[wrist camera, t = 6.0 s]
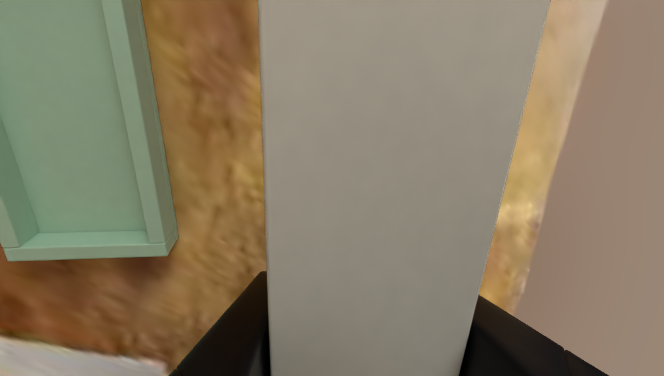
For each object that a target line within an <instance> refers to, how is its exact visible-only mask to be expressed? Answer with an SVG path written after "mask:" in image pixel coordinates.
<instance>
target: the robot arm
mask: <svg viewBox="0 0 664 376" xmlns="http://www.w3.org/2000/svg"><path fill="white" fill-rule="evenodd" d="M169 376H270V350H269V320H268V291H267V271H262V272H260V273H259V274H258V275H257V276H256V278H255V279H254V280H253V281H252V282H251V283H250V284H249V285H248V287H247V288H246V289H245V290H244V291H243V292H242V293H241V295H240V296H239V297H238V298H237V299H236V300H235V301H234V303H233V304H232V305H231V306H230V307H229V308H228V309H227V310H226V312H225V313H224V314H223V315H222V316H221V317H220V318H219V320H218V321H217V322H216V323H215V324H214V325H213V326H212V328H211V329H210V330H209V331H208V332H207V333H206V334H205V336H204V337H203V338H202V339H201V340H200V341H199V342H198V343H197V345H196V346H195V347H194V348H193V349H192V350H191V351H190V353H189V354H188V355H187V356H186V357H185V358H184V359H183V361H182V362H181V363H180V364H179V365H178V366H177V369H175V370H173V372H172V373H171V374H170V375H169ZM459 376H609V375H607V374H605V373H604V372H602V371H600V370H599V369H597V368H595V367H594V366H592V365H590V364H589V363H587V362H585V361H584V360H582V359H581V358H579V357H577V356H576V355H574V354H573V353H571V352H570V351H568V350H565V351H564V348H563V347H561V346H560V345H558V344H557V343H555V342H554V341H552V340H550V339H549V338H547V337H546V336H544V335H542V334H541V333H539V332H538V331H536V330H534V329H533V328H531V327H530V326H528V325H526V324H525V323H523V322H521V321H520V320H518V319H517V318H515V317H514V316H512V315H510V314H509V313H507V312H506V311H504V310H502V309H501V308H499V307H498V306H496V305H494V304H493V303H491V302H490V301H488V300H486V299H485V298H483V297H482V296H480V295H478V299H477V303H476V307H475V311H474V315H473V319H472V323H471V327H470V332H469V336H468V340H467V344H466V348H465V352H464V356H463V360H462V364H461V368H460V372H459Z"/></svg>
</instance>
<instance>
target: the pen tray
mask: <svg viewBox="0 0 664 376" xmlns="http://www.w3.org/2000/svg"><path fill="white" fill-rule="evenodd" d="M178 237H179V235H178V229H177V223H176V217H175V211H174V205H173V198H172V192H171V186H170V180H169V174H168V168H167V162H166V155H165V149H164V143H163V137H162V131H161V125H160V119H159V112H158V106H157V100H156V94H155V88H154V82H153V76H152V69H151V63H150V57H149V51H148V45H147V39H146V33H145V27H144V20H143V14H142V8H141V2H140V0H0V243H1V246H2V248H4V249H3V250H4V253H5V255H6V258H7V260H8V261H38V260H68V259H98V258H127V257H157V256H167V255H168V254H169V252H170V250H171V249H172V247H173V245H174V244H175V242H176V241H177V239H178Z"/></svg>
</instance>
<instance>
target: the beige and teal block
mask: <svg viewBox="0 0 664 376" xmlns="http://www.w3.org/2000/svg"><path fill="white" fill-rule="evenodd" d="M550 1H551V0H258V25H259V55H260V84H261V114H262V143H263V173H264V202H265V232H266V261H267V291H268V320H269V350H270V376H459V372H460V368H461V364H462V360H463V356H464V352H465V348H466V344H467V340H468V336H469V332H470V327H471V323H472V319H473V315H474V311H475V307H476V303H477V299H478V295H479V291H480V287H481V283H482V278H483V274H484V270H485V266H486V262H487V258H488V254H489V250H490V246H491V242H492V238H493V234H494V229H495V225H496V221H497V217H498V213H499V209H500V205H501V201H502V197H503V193H504V189H505V185H506V180H507V176H508V172H509V168H510V164H511V160H512V156H513V152H514V148H515V144H516V140H517V136H518V131H519V127H520V123H521V119H522V115H523V111H524V107H525V103H526V99H527V95H528V91H529V87H530V82H531V78H532V74H533V70H534V66H535V62H536V58H537V54H538V50H539V46H540V42H541V38H542V33H543V29H544V25H545V21H546V17H547V13H548V9H549V5H550Z"/></svg>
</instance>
